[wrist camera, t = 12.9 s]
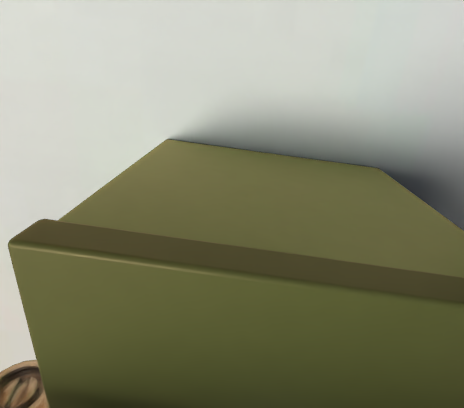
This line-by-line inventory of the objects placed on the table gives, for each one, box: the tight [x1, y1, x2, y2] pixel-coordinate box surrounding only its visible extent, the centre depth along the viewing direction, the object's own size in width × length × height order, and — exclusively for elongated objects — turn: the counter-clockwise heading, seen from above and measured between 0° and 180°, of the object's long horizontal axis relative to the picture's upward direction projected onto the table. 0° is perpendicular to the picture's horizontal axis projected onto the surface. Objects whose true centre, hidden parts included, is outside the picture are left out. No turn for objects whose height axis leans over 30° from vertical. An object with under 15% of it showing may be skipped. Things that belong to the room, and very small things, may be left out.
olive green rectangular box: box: [8, 139, 464, 408], centre depth 8 cm, size 10×7×6 cm, turn 173°
